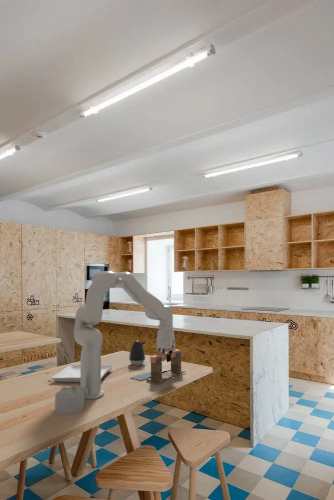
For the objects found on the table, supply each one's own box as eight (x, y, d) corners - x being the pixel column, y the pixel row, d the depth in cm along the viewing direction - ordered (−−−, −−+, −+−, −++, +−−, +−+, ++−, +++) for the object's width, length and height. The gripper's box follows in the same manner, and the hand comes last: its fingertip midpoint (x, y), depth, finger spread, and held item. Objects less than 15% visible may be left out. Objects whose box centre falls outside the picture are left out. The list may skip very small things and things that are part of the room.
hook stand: (158, 384, 176) (158, 359, 177) (146, 381, 181) (146, 357, 182) (185, 373, 196) (184, 351, 197) (174, 371, 201) (173, 349, 202)
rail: (154, 363, 179) (154, 357, 179) (150, 362, 180) (150, 356, 181) (180, 355, 198) (180, 349, 198) (176, 354, 200) (176, 349, 200)
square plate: (113, 371, 204) (113, 364, 204) (100, 385, 176) (100, 377, 177) (70, 370, 206) (70, 363, 207) (50, 384, 179) (50, 376, 179)
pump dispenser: (144, 366, 211) (144, 341, 212) (128, 366, 211) (128, 342, 213) (146, 362, 221) (146, 339, 223) (130, 362, 222) (130, 339, 223)
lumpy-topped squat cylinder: (51, 412, 141) (51, 391, 141) (69, 401, 153) (70, 382, 154) (72, 415, 137) (73, 393, 138) (90, 404, 150) (90, 384, 150)
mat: (141, 381, 182) (141, 380, 182) (130, 378, 187) (130, 377, 187) (171, 369, 203) (171, 369, 203) (160, 367, 208) (160, 367, 208)
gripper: (150, 327, 193) (150, 360, 191) (173, 329, 183) (173, 364, 181) (158, 325, 198) (158, 357, 197) (181, 328, 189) (181, 362, 187)
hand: (166, 360), depth 189 cm, fingers closed on rail, 3 cm apart
